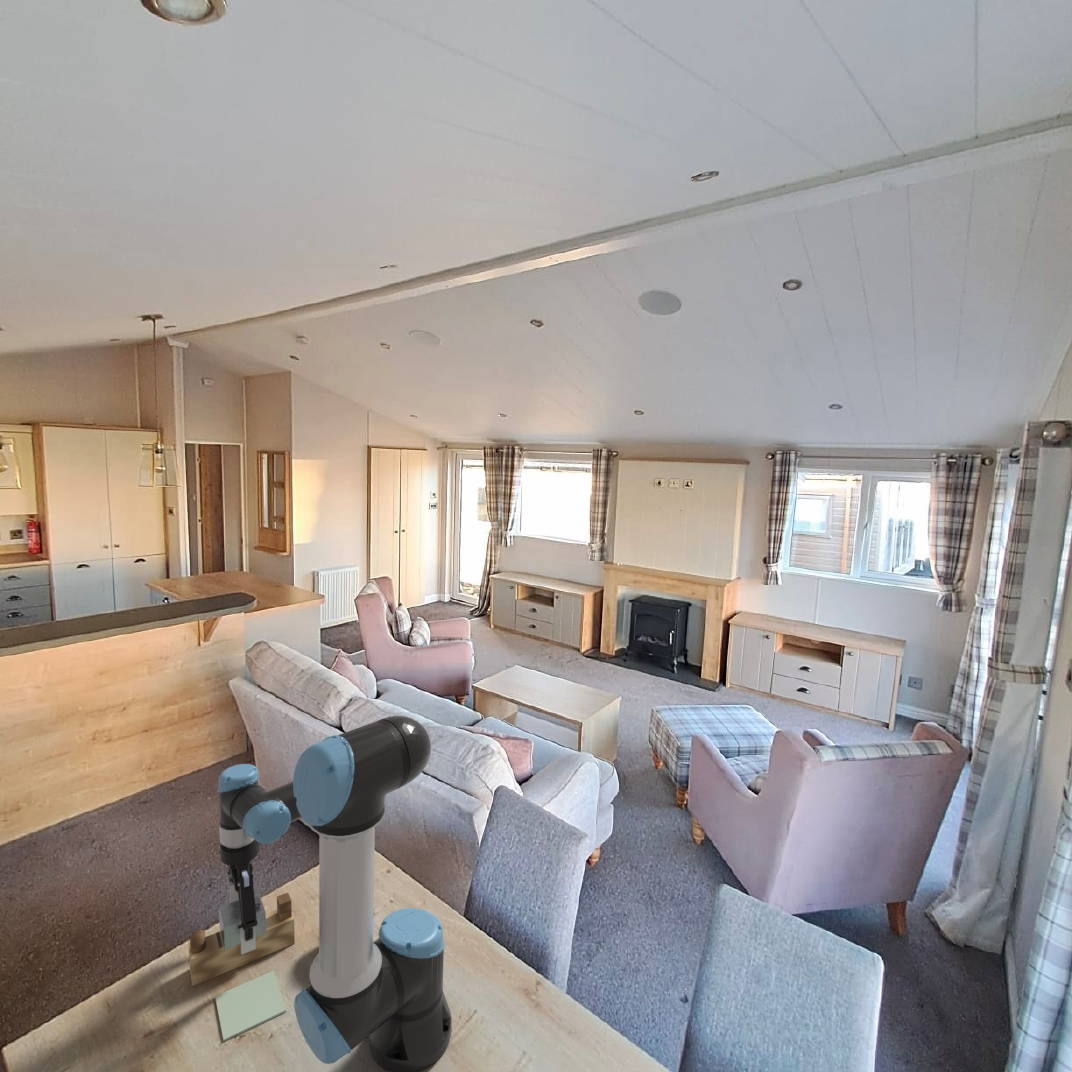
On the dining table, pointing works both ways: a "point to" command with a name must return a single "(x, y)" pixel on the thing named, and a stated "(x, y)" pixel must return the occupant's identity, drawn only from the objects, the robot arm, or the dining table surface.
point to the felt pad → (249, 1005)
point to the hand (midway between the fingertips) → (242, 929)
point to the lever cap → (232, 920)
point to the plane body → (215, 960)
